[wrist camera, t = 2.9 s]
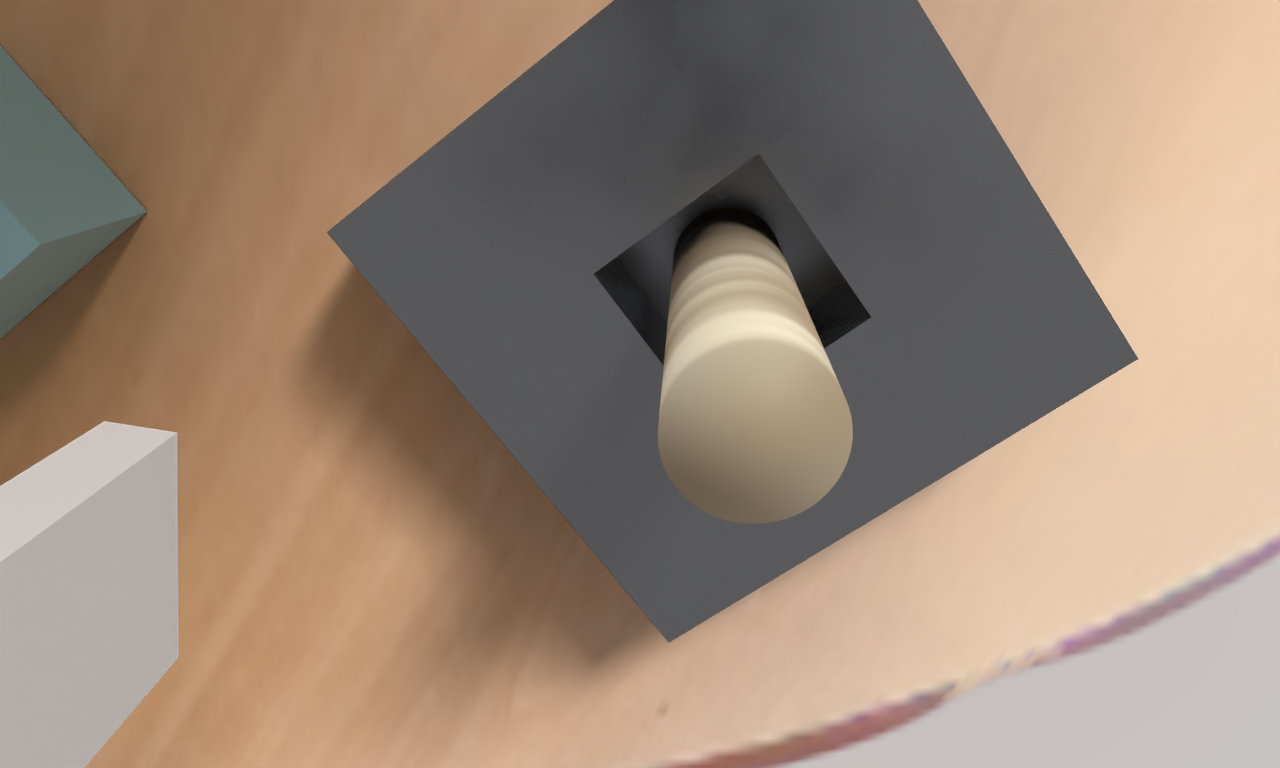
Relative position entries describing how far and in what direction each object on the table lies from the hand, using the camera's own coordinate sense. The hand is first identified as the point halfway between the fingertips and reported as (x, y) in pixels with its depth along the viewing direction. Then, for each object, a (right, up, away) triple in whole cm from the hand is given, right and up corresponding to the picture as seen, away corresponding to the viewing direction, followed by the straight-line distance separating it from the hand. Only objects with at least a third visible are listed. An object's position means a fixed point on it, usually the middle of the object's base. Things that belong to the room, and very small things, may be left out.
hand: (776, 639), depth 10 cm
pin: (+1, +6, +17) cm, 18 cm away
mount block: (+1, +6, +18) cm, 19 cm away
